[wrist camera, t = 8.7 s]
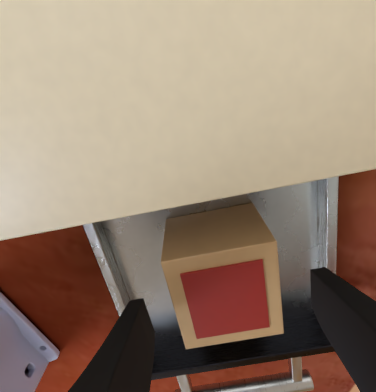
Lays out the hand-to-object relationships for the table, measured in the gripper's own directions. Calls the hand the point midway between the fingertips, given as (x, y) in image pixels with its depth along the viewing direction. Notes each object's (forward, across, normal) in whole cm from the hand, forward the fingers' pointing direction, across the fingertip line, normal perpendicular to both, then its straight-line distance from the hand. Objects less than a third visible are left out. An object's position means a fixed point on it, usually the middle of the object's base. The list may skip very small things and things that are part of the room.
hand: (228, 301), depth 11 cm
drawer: (+5, 0, +3) cm, 6 cm away
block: (+5, 0, +1) cm, 5 cm away
